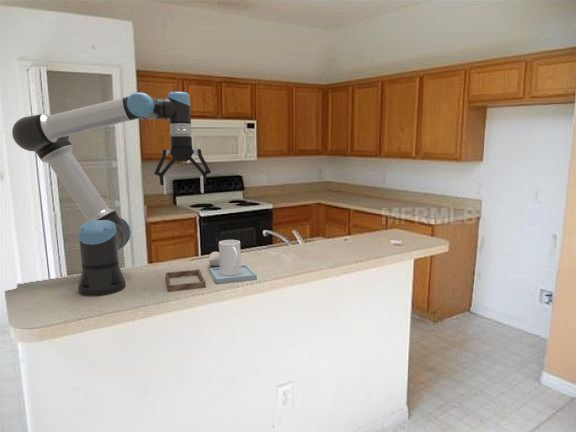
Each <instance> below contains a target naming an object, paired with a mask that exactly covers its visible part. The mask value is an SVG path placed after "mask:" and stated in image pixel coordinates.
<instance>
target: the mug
mask: <svg viewBox="0 0 576 432" xmlns="http://www.w3.org/2000/svg"><path fill="white" fill-rule="evenodd" d="M218 252H219V261H220V265H219V267H220V271H219V273H220V274H221V275H228V276H230V275H237V274H240V273H241V272H242V271H241V265H242V264H241V263H242V261H241V256H242V255H241V241H240V240H238V239H237V240H236V239H225V240H224V239H223V240H220V241H218Z"/></svg>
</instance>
